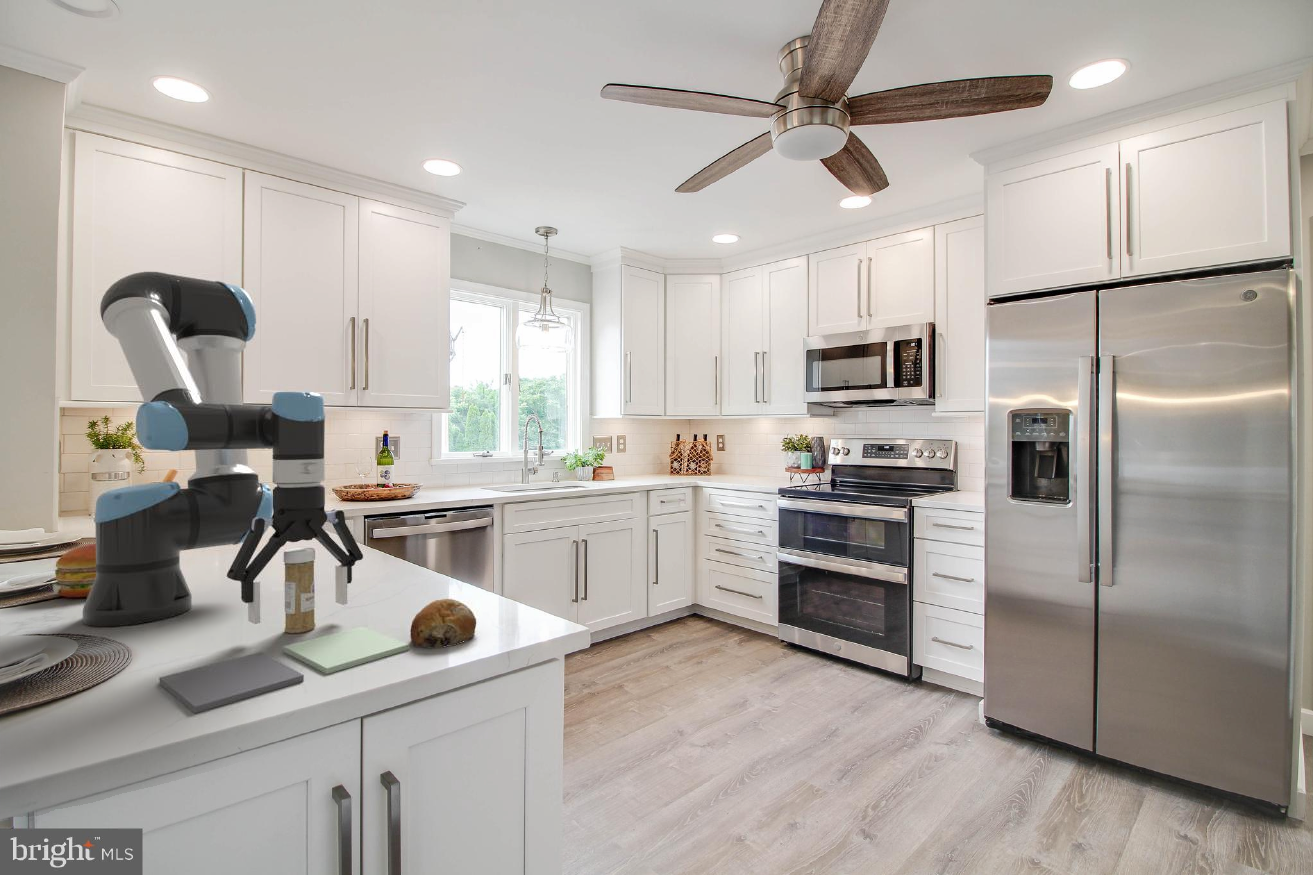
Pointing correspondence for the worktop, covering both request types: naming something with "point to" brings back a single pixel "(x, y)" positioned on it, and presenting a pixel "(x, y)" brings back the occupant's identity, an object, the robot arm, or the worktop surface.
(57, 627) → the worktop surface
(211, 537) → the robot arm
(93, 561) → the burger
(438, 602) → the bread roll
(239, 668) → the pad
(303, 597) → the spice jar
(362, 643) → the pad
